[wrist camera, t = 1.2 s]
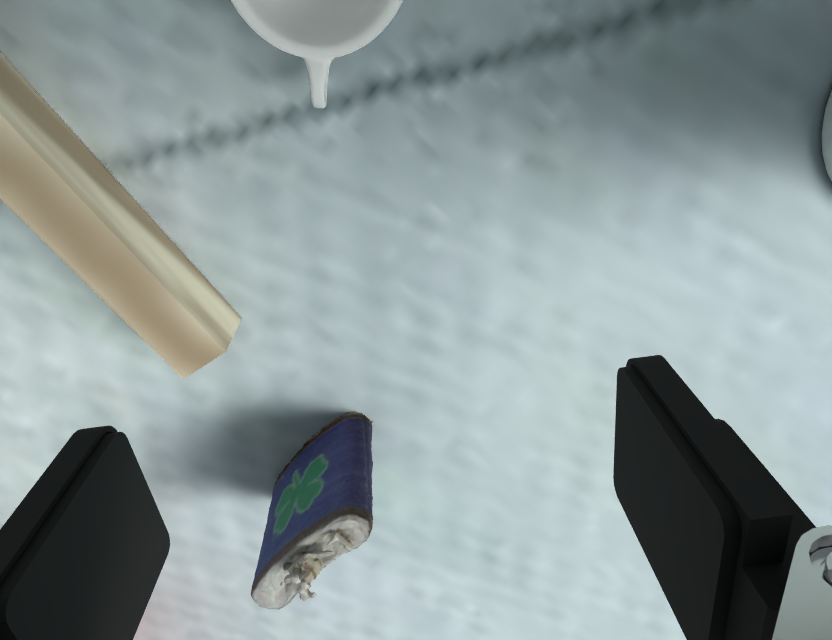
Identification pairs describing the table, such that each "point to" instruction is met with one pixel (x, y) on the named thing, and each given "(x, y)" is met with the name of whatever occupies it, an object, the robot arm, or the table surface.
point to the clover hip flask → (316, 511)
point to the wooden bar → (105, 232)
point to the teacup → (318, 30)
